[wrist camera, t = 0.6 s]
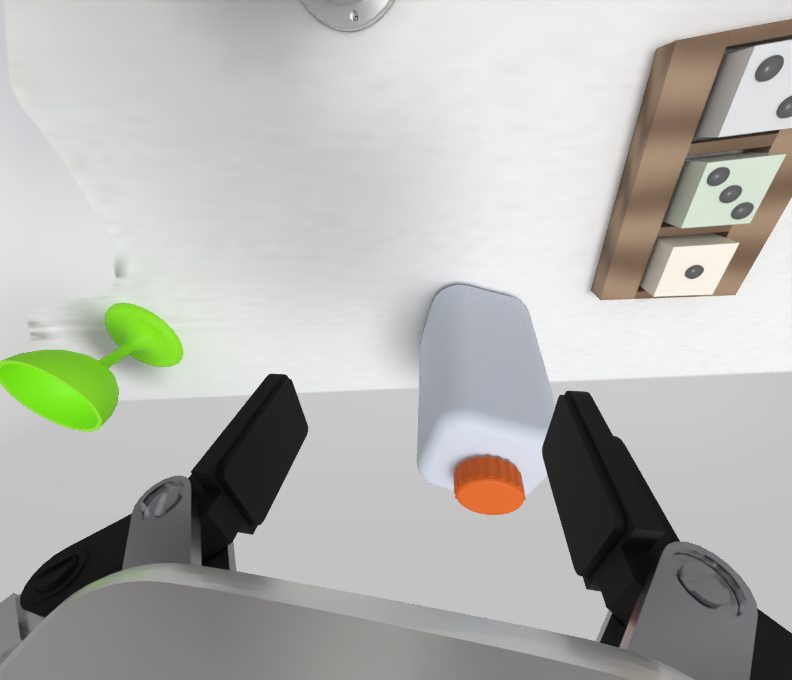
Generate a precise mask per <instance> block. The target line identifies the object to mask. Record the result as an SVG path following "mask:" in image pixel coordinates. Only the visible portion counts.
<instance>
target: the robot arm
mask: <svg viewBox="0 0 792 680" xmlns="http://www.w3.org/2000/svg"><path fill="white" fill-rule="evenodd" d="M300 1H301V2H302V3H303V4H304V5H305V7H306V8H307V9H308V10H309V11H310V12H311V13H312V14H313V15H314V16H315V17H316V18H317V19H319V20H320V21H321V22H323V23H324V24H326V25H327V26H329V27H332V28H334V29H337V30H341V31H349V32H350V31H356V30H362V29H364V28H366V27H368V26H370V25H372V24H373V23H375V22H376V21H377V20H378V19H380V18H381V17H382V16H383V15H384V14H385V12H386V11H387V10H388V9H389V8H390V6H391V5H392V4H393V2H394V0H300ZM355 16H358V21H357V22H355V21H354V18H355ZM307 432H308V425H307V422H306V419H305V416H304V414H303V411H302V408H301V405H300V403H299V399H298V397H297V394H296V391H295V388H294V385H293V382H292V380H291V379H289V378H288V376H287V375H284V374H269V375H268V376H267V377H266V378H265V379H264V381H263V382H262V383H261V385H260V386H259V387H258V388H257V390H256V391H255V392H254V393H253V395H252V396H251V397H250V398H249V400H248V401H247V402H246V403H245V405H244V406H243V407H242V408H241V410H240V411H239V412H238V413H237V415H236V416H235V417H234V418H233V420H232V421H231V422H230V423H229V425H228V426H227V427H226V429H225V430H224V431H223V432H222V433H221V435H220V436H219V437H218V438H217V440H216V441H215V442H214V444H213V445H212V446H211V447H210V449H209V450H208V451H207V452H206V453H205V455H204V456H203V457H202V458H201V460H200V461H199V462H198V464H197V465H196V466H195V467H194V468H193V470H192V471H191V473H192V474H191V476H190V477H189V478H186V477H184V476H173V477H170V478H167V479H164V480H162V481H160V482H159V483H157V484H155V485H154V486H153V487H151V488H150V489H149V490H148V491H146V492H145V493H144V494H143V496H142V497H141V498H140V499H139V500H138V502H137V504H136V505H135V506H134V509H133V512H132V514H130V515H128V516H126V517H125V518H123V519H121V520H119V521H117V522H115V523H113V524H112V525H109V526H107V527H106V528H104V529H102V530H100V531H98V532H96V533H94V534H92V535H90V536H89V537H86V538H85V539H83V540H81V541H79V542H77V543H75V544H73V545H71V546H69V547H68V548H65V549H64V550H62V551H61V552H59V553H57V554H56V555H54V556H53V557H52V558H51V559H50V560H48V561H47V562H46V563H44V564H43V565H42V566H41V567H40V568H39V569H38V570H37V571H36V572H35V573H34V574H33V576H32V577H31V579H30V580H29V581H28V582H27V584H26V585H25V587H24V589H23V591H22V593H21V594H20V595H17V594H15V593H13V594H12V595H10V596H9V597H8V598H6V599H5V600H4V601H2V602H1V603H0V680H792V633H790V632H789V631H787V630H786V629H785V628H783V627H782V626H781V625H779V624H778V623H777V622H775V621H774V620H772V619H771V618H770V617H768V616H767V615H766V614H764V613H763V612H761V611H760V610H759V609H757V604H756V601H755V599H754V597H753V595H752V593H751V591H750V589H749V588H748V586H747V585H746V583H745V582H744V581H743V579H742V578H741V577H740V576H739V575H738V574H737V573H736V572H735V571H734V570H733V569H732V568H731V567H730V566H729V565H728V564H727V563H726V562H725V561H723V560H722V559H720V558H719V557H718V556H716V555H715V554H714V553H712V552H710V551H708V550H706V549H704V548H702V547H701V546H698V545H695V544H692V543H688V542H680V541H679V539H678V537H677V535H676V534H675V532H674V530H673V529H672V527H671V525H670V523H669V522H668V520H667V518H666V516H665V514H664V513H663V511H662V509H661V507H660V506H659V504H658V502H657V500H656V499H655V497H654V495H653V493H652V492H651V490H650V488H649V486H648V485H647V483H646V481H645V479H644V478H643V476H642V474H641V472H640V471H639V469H638V467H637V465H636V464H635V462H634V460H633V458H632V457H631V455H630V453H629V451H628V450H627V448H626V446H625V444H624V443H623V442H622V440H621V439H619V438H618V437H616V436H613V435H612V433H611V431H610V429H609V428H608V426H607V424H606V422H605V421H604V418H603V417H602V415H601V413H600V411H599V409H598V407H597V406H596V404H595V402H594V400H593V398H592V397H591V395H590V393H588V392H580V391H567V392H566V393H565V395H560V396H559V398H558V401H557V404H556V407H555V410H554V413H553V416H552V419H551V422H550V425H549V428H548V431H547V434H546V437H545V440H544V443H543V446H542V457H543V461H544V464H545V468H546V471H547V475H548V478H549V482H550V485H551V489H552V492H553V496H554V499H555V503H556V506H557V509H558V513H559V516H560V520H561V524H562V527H563V531H564V534H565V538H566V541H567V545H568V548H569V552H570V555H571V559H572V562H573V566H574V569H575V571H576V573H577V574H578V575H579V576H583V579H584V582H585V586H586V589H589V590H595V591H601V592H602V595H603V598H604V601H605V604H606V607H607V608H608V609H609V611H608V613H607V616H606V618H605V621H604V623H603V625H602V627H601V630H600V632H599V634H598V637H597V639H596V641H592V640H588V639H583V638H578V637H574V636H569V635H564V634H559V633H555V632H551V631H546V630H541V629H536V628H532V627H527V626H522V625H517V624H512V623H507V622H502V621H496V620H491V619H487V618H481V617H476V616H471V615H466V614H460V613H456V612H450V611H445V610H440V609H435V608H430V607H425V606H420V605H414V604H409V603H404V602H398V601H393V600H388V599H382V598H377V597H372V596H367V595H362V594H356V593H351V592H346V591H340V590H335V589H329V588H324V587H319V586H313V585H308V584H302V583H297V582H292V581H286V580H281V579H276V578H270V577H265V576H259V575H254V574H248V573H242V572H237V571H236V564H235V554H234V544H233V540H234V538H235V536H236V534H237V533H238V532H240V533H247V534H253V533H254V531H255V529H256V528H257V526H258V525H260V524H262V522H263V521H264V519H265V518H266V516H267V514H268V511H269V509H270V508H271V505H272V504H273V501H274V500H275V498H276V496H277V494H278V492H279V490H280V487H281V486H282V483H283V481H284V480H285V478H286V476H287V474H288V472H289V470H290V468H291V466H292V464H293V461H294V460H295V458H296V455H297V454H298V452H299V450H300V448H301V446H302V444H303V442H304V440H305V438H306V436H307Z"/></svg>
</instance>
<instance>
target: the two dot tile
mask: <svg viewBox="0 0 792 680" xmlns="http://www.w3.org/2000/svg"><path fill="white" fill-rule="evenodd" d="M787 128H792V40H786V41H781V42H775V43H769V44H764V45H758V46H753V47H750V48H747V49H743V50H740V51H737V52H733V53H730V54H727V55H723V58H722V60H721V63H720V66H719V68H718V71H717V74H716V77H715V79H714V82H713V85H712V88H711V90H710V93H709V96H708V99H707V101H706V104H705V107H704V109H703V112H702V115H701V118H700V120H699V123H698V126H697V129H696V131H695V134H694V137H724V136H732V135H740V134H748V133H756V132H764V131H772V130H779V129H787Z"/></svg>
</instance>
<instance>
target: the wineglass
mask: <svg viewBox="0 0 792 680" xmlns="http://www.w3.org/2000/svg"><path fill="white" fill-rule="evenodd" d="M105 324H106V327H107V330H108V332H109V333H110V335H111V337H112V338H113V339H114V341H115V342H116V343H117V344H118V345H119V346H120V348H118V349H116V350H115V351H113V352H112V353H110V354H109V355H107V356H105V357H104V358H102V359H101V360H99V361H98V360H96V359H94V358H92V357H90V356H87V355H84V354H80V353H76V352H72V351H66V350H39V351H33V352H28V353H22V354H18V355H15V356H13V357H10V358H7V359H5V360H2V361H0V383H1V385H2V386H3V387H4V388H5V389H6V390H7V391H8V392H9V393H10V394H11V395H12V396H13V397H14V398H15V399H16V400H18V401H19V402H20V403H22V404H23V405H24V406H26V407H27V408H29V409H31V410H32V411H33V412H35V413H37V414H38V415H40V416H42V417H44V418H46V419H48V420H50V421H52V422H55V423H57V424H59V425H61V426H65V427H67V428H70V429H74V430H79V431H95V430H98V429H99V428H100V427H101V426H102V425H103V424H104V423H105V422H106V421H107V420H108V419H109V417H110V416H111V415H112V413H113V411H114V409H115V407H116V405H117V402H118V394H119V388H118V385H117V382H116V379H115V377H114V375H113V374H112V372H111V371H110V370H109V369H108V368H109V367H111V366H112V365H114V364H115V363H117V362H118V361H119V360H121V359H122V358H124V357H125V356H127V355H128V354H130V355H131V356H133V357H134V358H136V359H138V360H140V361H142V362H144V363H147V364H149V365H152V366H158V367H170V366H173V365H175V364H178V363H179V362H180V361H181V359H182V356H183V349H182V345H181V343H180V341H179V338H178V337H177V336H176V334H175V333H174V331H173V330H172V329H171V328H170V327H169V326H168V325H167V324H166V323H165V322H164V321H163V320H162V319H160V318H159V317H158V316H156V315H155V314H153V313H151V312H150V311H148V310H146V309H144V308H142V307H139V306H136V305H133V304H127V303H119V304H115V305H113V306H111V307H110V308H109V309H108V311H107V313H106V314H105Z"/></svg>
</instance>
